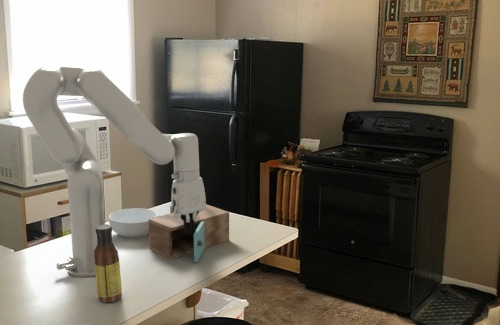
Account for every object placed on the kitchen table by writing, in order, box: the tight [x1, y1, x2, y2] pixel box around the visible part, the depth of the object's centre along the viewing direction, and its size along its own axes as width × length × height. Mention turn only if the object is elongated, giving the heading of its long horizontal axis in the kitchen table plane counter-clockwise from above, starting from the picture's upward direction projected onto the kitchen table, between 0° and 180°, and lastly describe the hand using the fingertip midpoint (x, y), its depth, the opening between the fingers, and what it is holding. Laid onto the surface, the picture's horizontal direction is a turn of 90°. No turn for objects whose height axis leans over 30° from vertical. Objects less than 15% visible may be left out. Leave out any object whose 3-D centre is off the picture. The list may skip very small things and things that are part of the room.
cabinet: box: [148, 203, 230, 259], centre depth 185 cm, size 24×12×10 cm, turn 134°
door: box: [193, 221, 206, 263], centre depth 175 cm, size 12×2×9 cm, turn 174°
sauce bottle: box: [94, 223, 123, 304], centre depth 145 cm, size 7×6×20 cm
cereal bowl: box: [108, 207, 159, 239], centre depth 195 cm, size 17×17×7 cm
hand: (189, 232), depth 172 cm, fingers closed
